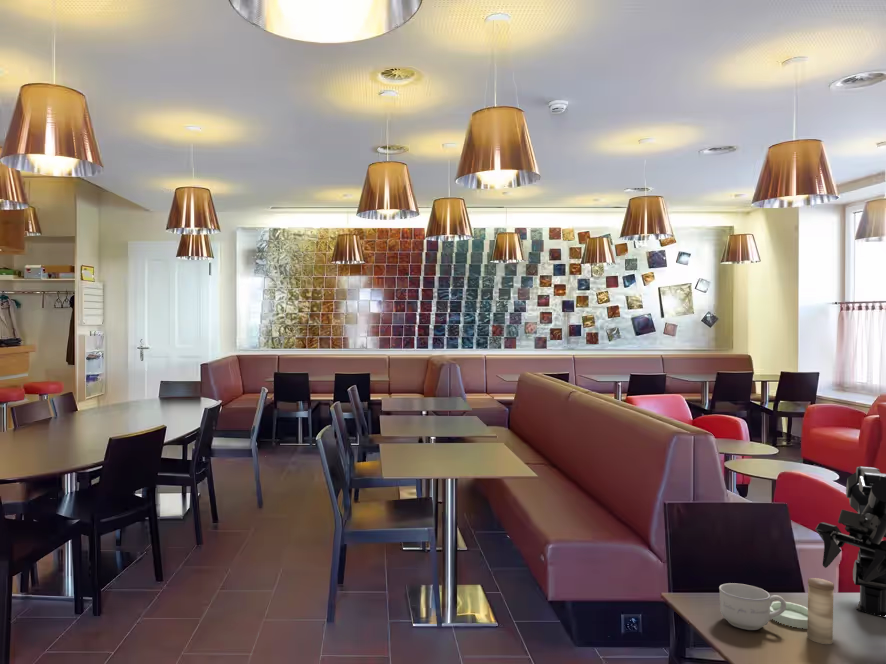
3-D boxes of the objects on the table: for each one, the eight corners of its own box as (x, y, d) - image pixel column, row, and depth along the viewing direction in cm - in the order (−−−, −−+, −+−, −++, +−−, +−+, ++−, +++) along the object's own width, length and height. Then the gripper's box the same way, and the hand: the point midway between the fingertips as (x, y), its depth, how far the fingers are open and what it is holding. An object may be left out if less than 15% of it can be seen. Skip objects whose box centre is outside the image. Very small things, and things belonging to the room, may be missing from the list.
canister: (809, 631, 140) (810, 576, 141) (834, 638, 137) (836, 582, 137) (804, 638, 137) (805, 582, 137) (830, 646, 133) (831, 588, 134)
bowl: (773, 605, 154) (773, 597, 154) (820, 618, 147) (820, 610, 147) (762, 618, 146) (762, 610, 146) (811, 632, 140) (811, 623, 140)
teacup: (716, 628, 141) (717, 592, 141) (719, 610, 150) (720, 577, 151) (786, 643, 134) (787, 606, 134) (785, 624, 144) (785, 589, 144)
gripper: (821, 488, 151) (789, 538, 147) (903, 508, 134) (870, 565, 130) (841, 518, 154) (810, 567, 150) (924, 541, 137) (893, 598, 133)
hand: (843, 573), depth 140 cm, fingers open, 9 cm apart
